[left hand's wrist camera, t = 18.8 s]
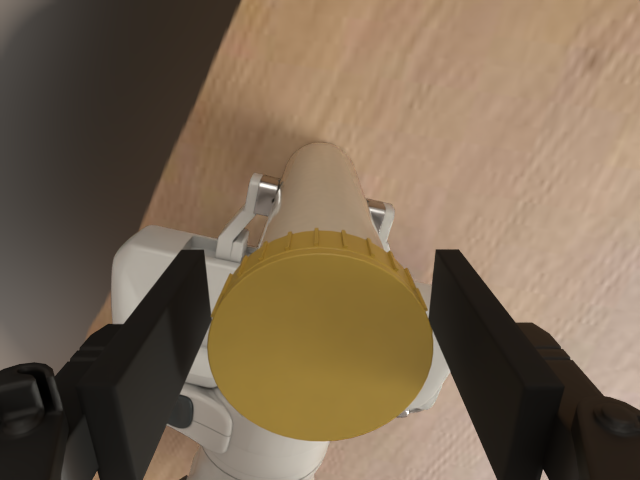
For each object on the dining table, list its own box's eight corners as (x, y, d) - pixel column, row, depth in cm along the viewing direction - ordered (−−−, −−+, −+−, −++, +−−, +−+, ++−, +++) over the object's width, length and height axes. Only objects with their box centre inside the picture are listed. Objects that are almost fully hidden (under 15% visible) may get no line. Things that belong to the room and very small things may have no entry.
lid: (428, 222, 11) (445, 246, 10) (416, 400, 13) (429, 441, 12) (205, 229, 11) (188, 253, 10) (230, 405, 13) (219, 447, 12)
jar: (270, 166, 28) (193, 313, 11) (332, 128, 28) (354, 223, 10) (308, 225, 30) (293, 433, 13) (369, 190, 29) (440, 364, 12)
